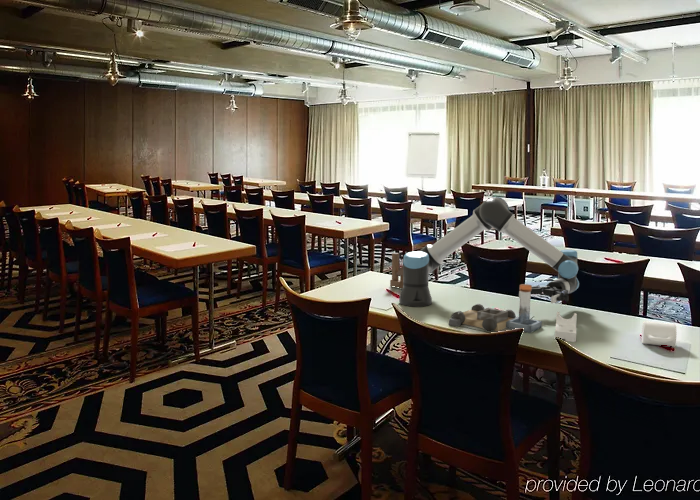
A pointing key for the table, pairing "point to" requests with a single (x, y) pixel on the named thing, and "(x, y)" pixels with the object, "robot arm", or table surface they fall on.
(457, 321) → the chock
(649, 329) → the white slotted housing
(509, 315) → the cart deck
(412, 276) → the robot arm
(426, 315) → the table surface
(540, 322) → the tray
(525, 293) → the orange capped tube
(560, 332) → the bracket
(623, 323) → the table surface
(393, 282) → the tan notched upright
